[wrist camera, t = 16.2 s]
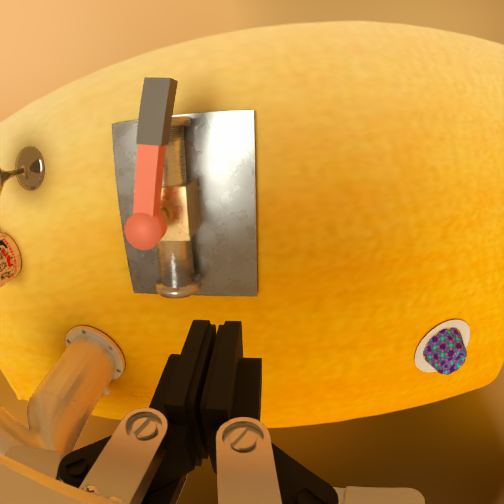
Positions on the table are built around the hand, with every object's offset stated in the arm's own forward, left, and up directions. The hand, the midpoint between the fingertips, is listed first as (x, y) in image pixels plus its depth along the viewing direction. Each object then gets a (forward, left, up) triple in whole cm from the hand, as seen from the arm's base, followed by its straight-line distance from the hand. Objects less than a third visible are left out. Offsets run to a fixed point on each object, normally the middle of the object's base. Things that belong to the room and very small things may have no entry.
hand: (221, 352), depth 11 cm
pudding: (-26, -33, -30) cm, 51 cm away
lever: (+5, +9, -19) cm, 22 cm away
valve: (-2, +9, -29) cm, 31 cm away
